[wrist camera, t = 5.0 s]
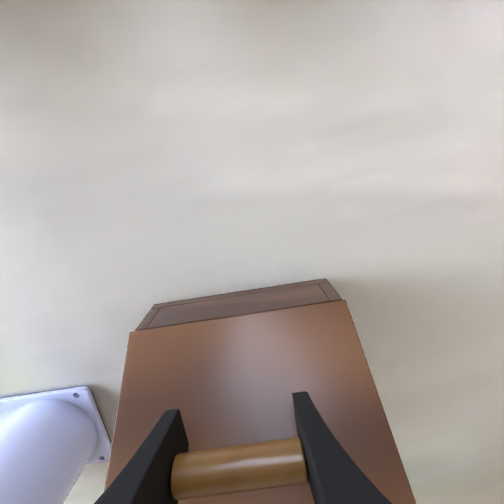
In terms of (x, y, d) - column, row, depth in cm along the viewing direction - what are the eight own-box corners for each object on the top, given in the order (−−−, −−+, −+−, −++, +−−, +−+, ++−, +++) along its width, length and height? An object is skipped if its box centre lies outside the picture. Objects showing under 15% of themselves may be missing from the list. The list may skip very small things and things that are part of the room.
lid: (437, 578, 10) (503, 639, 7) (90, 619, 10) (7, 695, 7) (343, 303, 17) (356, 272, 14) (133, 334, 17) (100, 311, 14)
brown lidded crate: (336, 390, 23) (352, 429, 20) (183, 412, 24) (172, 454, 20) (325, 277, 21) (342, 298, 17) (154, 304, 21) (134, 330, 17)
